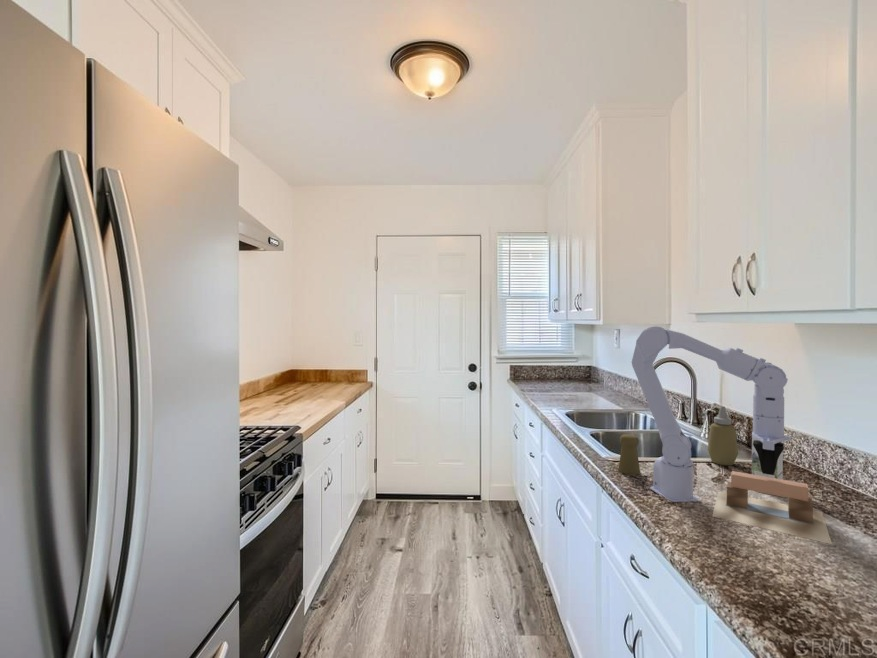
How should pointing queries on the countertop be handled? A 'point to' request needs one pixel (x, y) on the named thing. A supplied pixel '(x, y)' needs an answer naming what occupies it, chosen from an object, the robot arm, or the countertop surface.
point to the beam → (770, 485)
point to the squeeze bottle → (722, 440)
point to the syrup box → (757, 468)
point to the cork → (629, 455)
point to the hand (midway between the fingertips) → (767, 473)
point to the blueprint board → (772, 514)
